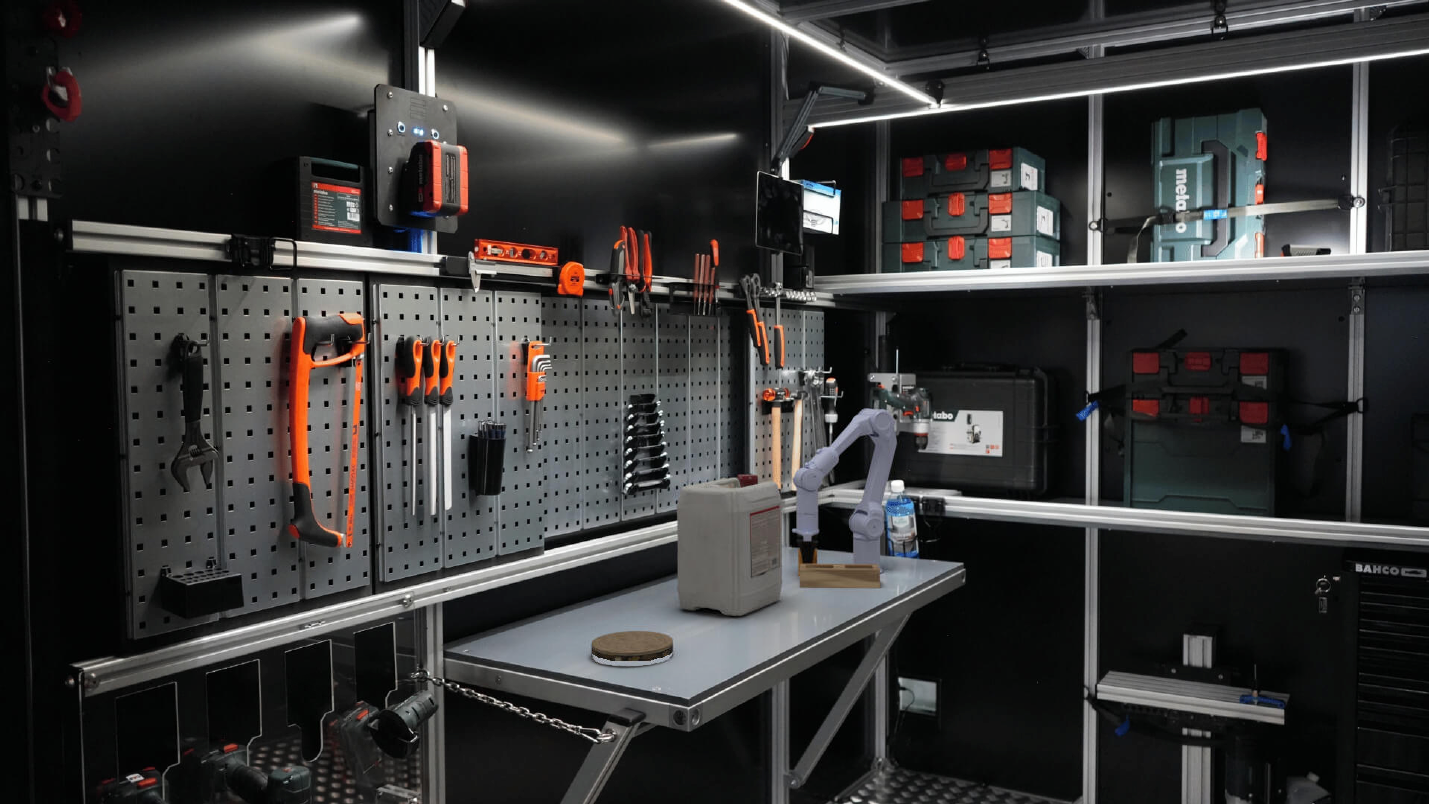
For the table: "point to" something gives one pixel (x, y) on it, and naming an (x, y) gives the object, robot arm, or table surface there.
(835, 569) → the slotted wooden block
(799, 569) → the orange wooden block
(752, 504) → the jerry can
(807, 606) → the table surface
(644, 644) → the brown round disc
